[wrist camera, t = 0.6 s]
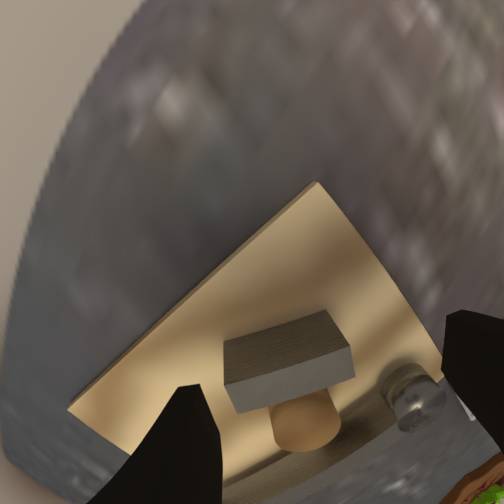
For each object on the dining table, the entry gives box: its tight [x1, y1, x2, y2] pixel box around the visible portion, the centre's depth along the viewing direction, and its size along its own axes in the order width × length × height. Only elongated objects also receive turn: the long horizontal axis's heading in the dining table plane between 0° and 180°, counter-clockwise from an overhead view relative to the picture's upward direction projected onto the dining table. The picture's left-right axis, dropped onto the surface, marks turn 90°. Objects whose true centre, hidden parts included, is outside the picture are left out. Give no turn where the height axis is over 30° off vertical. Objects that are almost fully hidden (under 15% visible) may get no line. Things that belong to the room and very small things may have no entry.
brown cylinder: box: [268, 388, 341, 452], centre depth 18 cm, size 4×4×3 cm
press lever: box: [222, 363, 446, 504], centre depth 16 cm, size 19×4×7 cm, turn 132°
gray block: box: [223, 309, 355, 414], centre depth 16 cm, size 2×6×4 cm, turn 107°
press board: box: [67, 181, 444, 489], centre depth 20 cm, size 18×22×1 cm
